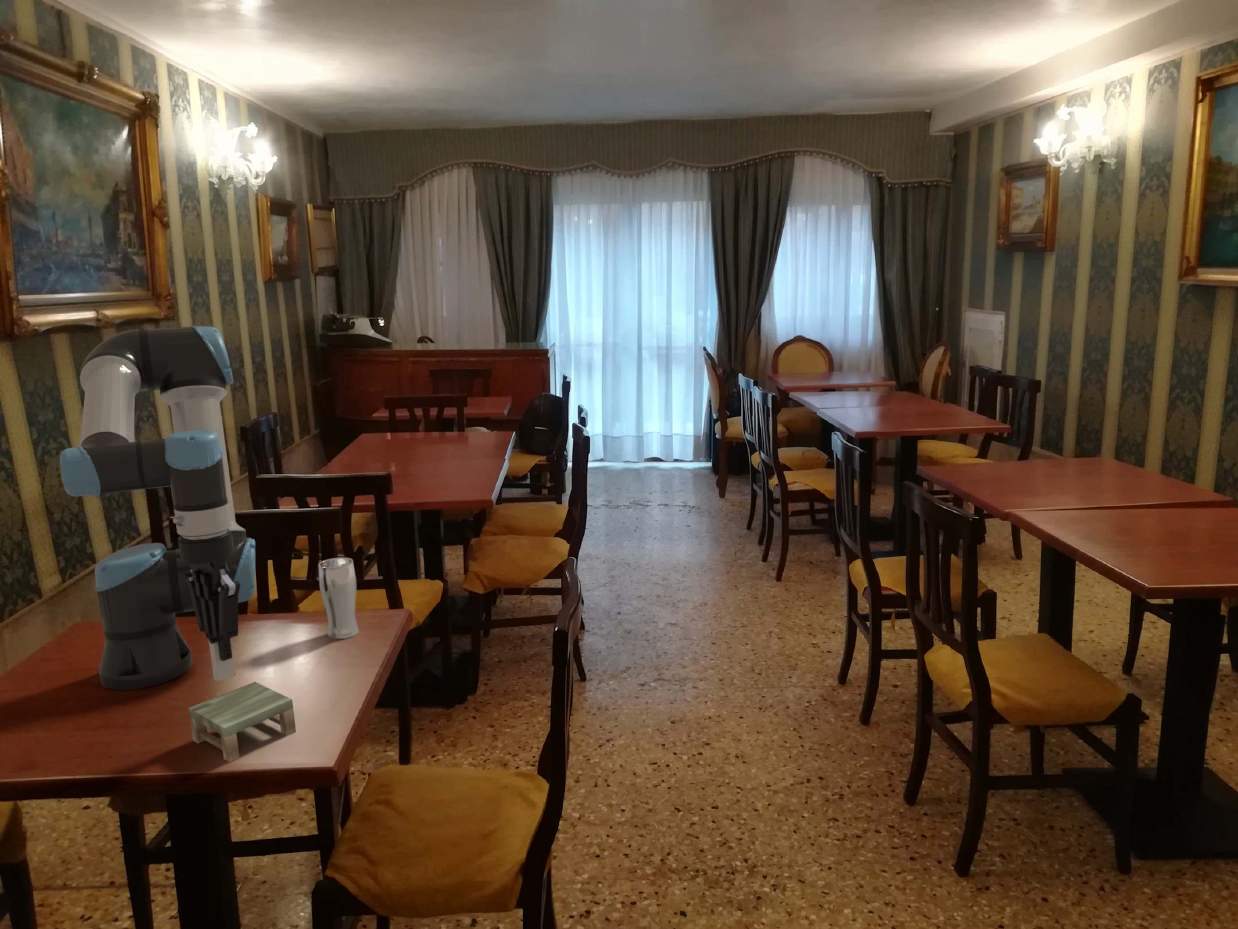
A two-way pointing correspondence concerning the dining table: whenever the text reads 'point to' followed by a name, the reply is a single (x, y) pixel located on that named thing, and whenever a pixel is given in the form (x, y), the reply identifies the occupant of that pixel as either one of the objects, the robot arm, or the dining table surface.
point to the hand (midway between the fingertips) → (224, 677)
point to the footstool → (240, 716)
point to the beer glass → (339, 596)
